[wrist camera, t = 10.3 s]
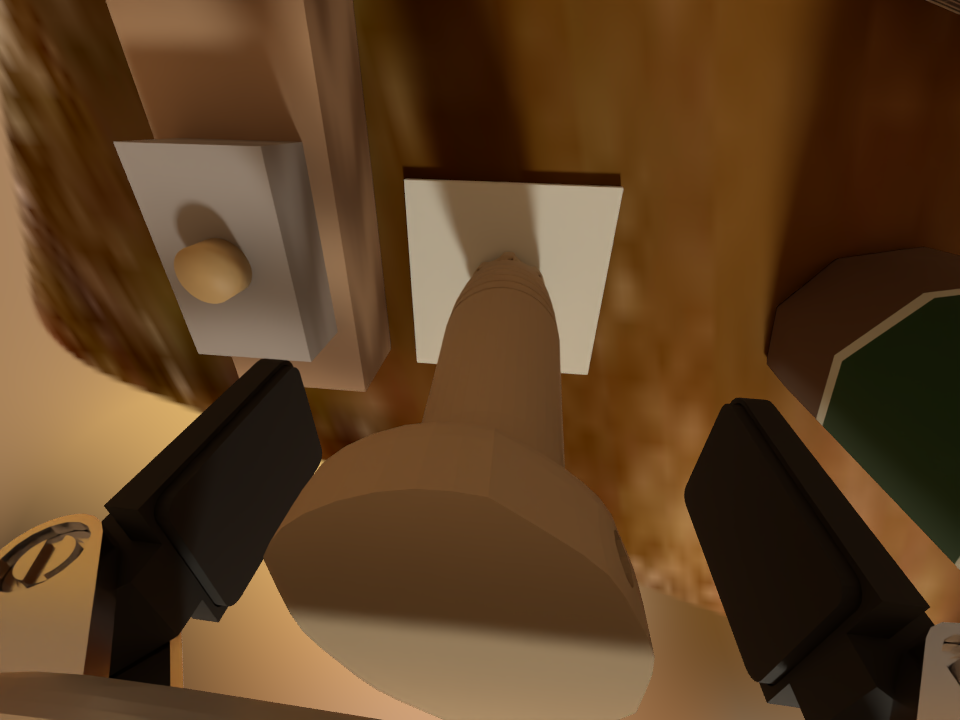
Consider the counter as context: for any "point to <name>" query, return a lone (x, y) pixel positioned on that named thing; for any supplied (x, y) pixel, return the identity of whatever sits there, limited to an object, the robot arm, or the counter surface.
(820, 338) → the brown glass bottle
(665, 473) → the counter surface
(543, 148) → the counter surface
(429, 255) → the felt pad
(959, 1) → the lighter
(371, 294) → the body
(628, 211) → the counter surface
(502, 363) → the handle
